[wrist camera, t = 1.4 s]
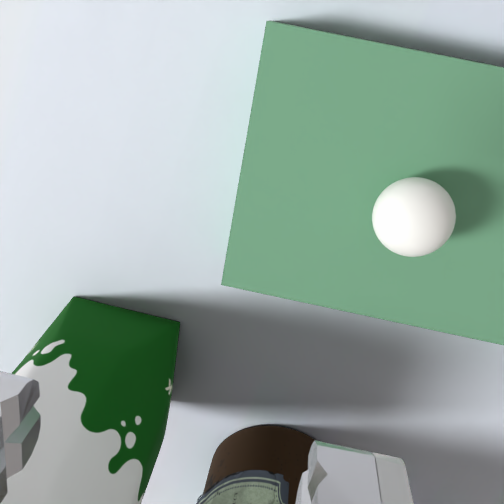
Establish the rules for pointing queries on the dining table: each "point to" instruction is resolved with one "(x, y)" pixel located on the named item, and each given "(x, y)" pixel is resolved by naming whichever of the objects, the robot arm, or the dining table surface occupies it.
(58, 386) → the milk carton
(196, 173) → the dining table surface
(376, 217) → the golf ball
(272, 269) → the putting mat
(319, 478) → the robot arm
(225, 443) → the brown cylinder
